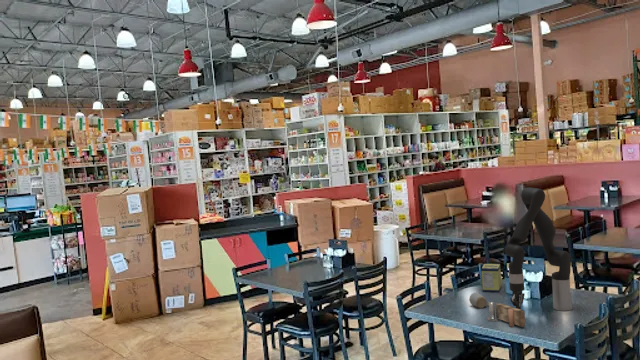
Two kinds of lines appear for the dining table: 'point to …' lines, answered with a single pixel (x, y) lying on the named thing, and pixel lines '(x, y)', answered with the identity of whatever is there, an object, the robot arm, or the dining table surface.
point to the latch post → (511, 318)
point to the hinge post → (492, 312)
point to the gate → (503, 315)
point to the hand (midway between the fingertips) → (518, 312)
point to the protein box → (491, 278)
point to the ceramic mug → (478, 300)
